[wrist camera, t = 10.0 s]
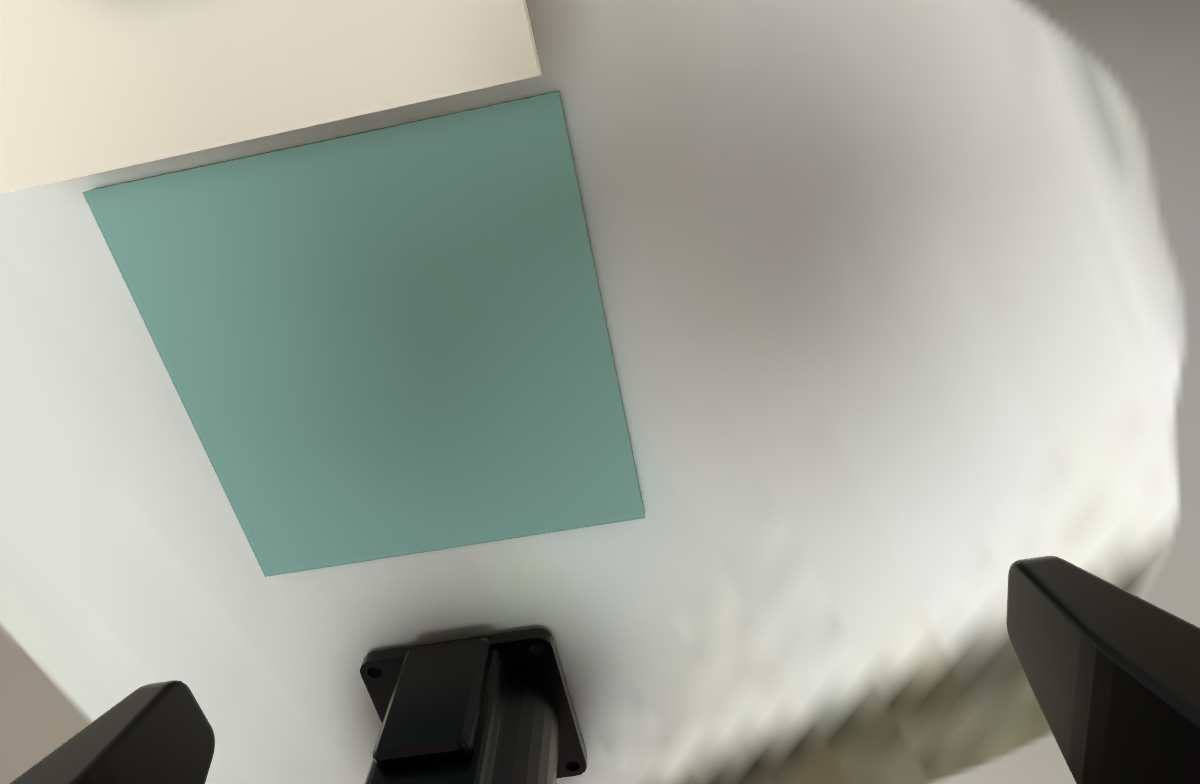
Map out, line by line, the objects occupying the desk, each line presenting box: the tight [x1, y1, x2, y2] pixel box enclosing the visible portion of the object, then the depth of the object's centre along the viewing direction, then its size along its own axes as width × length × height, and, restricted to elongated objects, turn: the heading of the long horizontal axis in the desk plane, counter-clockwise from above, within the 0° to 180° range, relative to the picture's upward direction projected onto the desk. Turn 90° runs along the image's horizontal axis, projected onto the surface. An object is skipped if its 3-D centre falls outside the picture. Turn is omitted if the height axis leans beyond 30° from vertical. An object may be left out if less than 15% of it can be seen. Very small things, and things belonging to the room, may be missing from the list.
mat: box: [83, 91, 645, 577], centre depth 21 cm, size 12×12×1 cm
